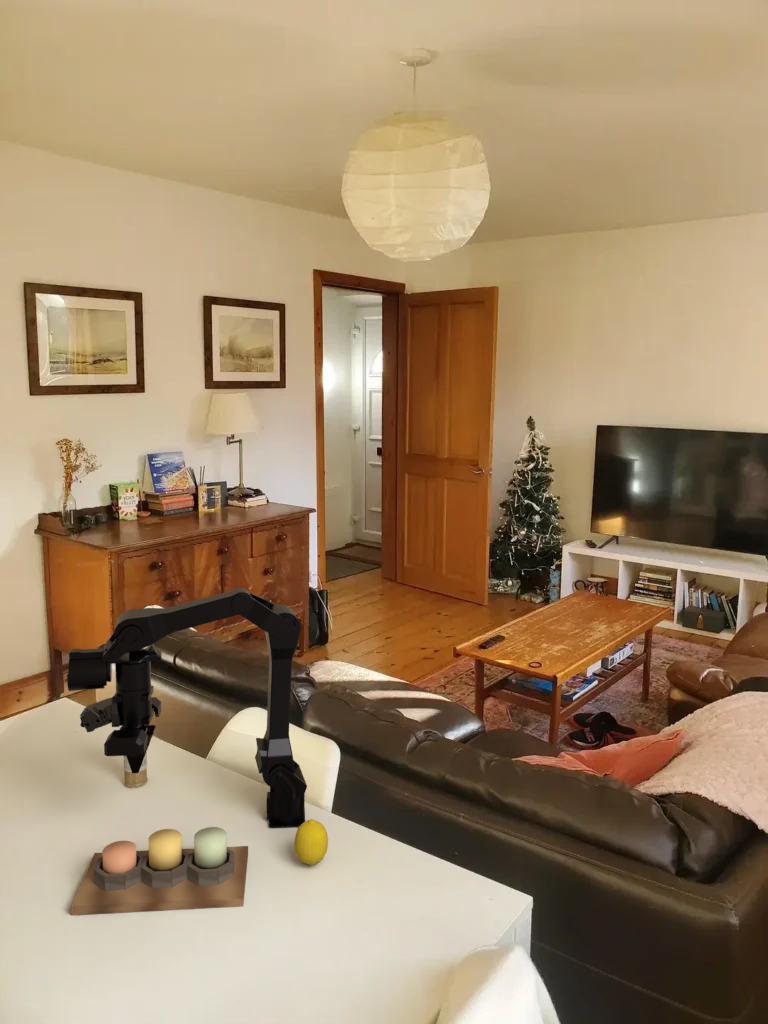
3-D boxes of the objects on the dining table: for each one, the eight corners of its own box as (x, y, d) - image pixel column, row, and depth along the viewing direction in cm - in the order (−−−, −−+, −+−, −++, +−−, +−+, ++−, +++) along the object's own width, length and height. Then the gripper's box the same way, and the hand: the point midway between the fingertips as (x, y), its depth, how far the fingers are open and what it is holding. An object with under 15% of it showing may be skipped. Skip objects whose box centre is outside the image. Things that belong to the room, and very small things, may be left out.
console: (248, 854, 134) (248, 833, 133) (243, 906, 120) (243, 883, 119) (94, 861, 131) (94, 839, 130) (71, 915, 117) (71, 891, 116)
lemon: (322, 876, 128) (323, 830, 127) (289, 872, 129) (290, 826, 128) (331, 858, 133) (332, 813, 132) (300, 853, 134) (300, 809, 133)
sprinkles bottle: (142, 775, 161) (140, 712, 159) (151, 784, 157) (150, 719, 155) (120, 782, 158) (118, 717, 156) (128, 791, 154) (127, 725, 152)
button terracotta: (139, 863, 127) (138, 839, 126) (133, 881, 122) (132, 857, 122) (107, 864, 126) (106, 841, 126) (99, 883, 122) (99, 859, 121)
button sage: (227, 849, 128) (227, 826, 128) (225, 867, 124) (225, 843, 123) (196, 850, 128) (196, 827, 127) (192, 868, 123) (192, 844, 122)
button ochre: (183, 851, 128) (183, 828, 127) (179, 869, 123) (179, 845, 122) (152, 852, 127) (151, 829, 126) (146, 871, 122) (145, 846, 122)
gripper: (97, 668, 143) (99, 750, 145) (69, 707, 124) (72, 801, 126) (160, 666, 144) (162, 748, 146) (142, 705, 126) (144, 798, 128)
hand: (135, 772), depth 137 cm, fingers closed
